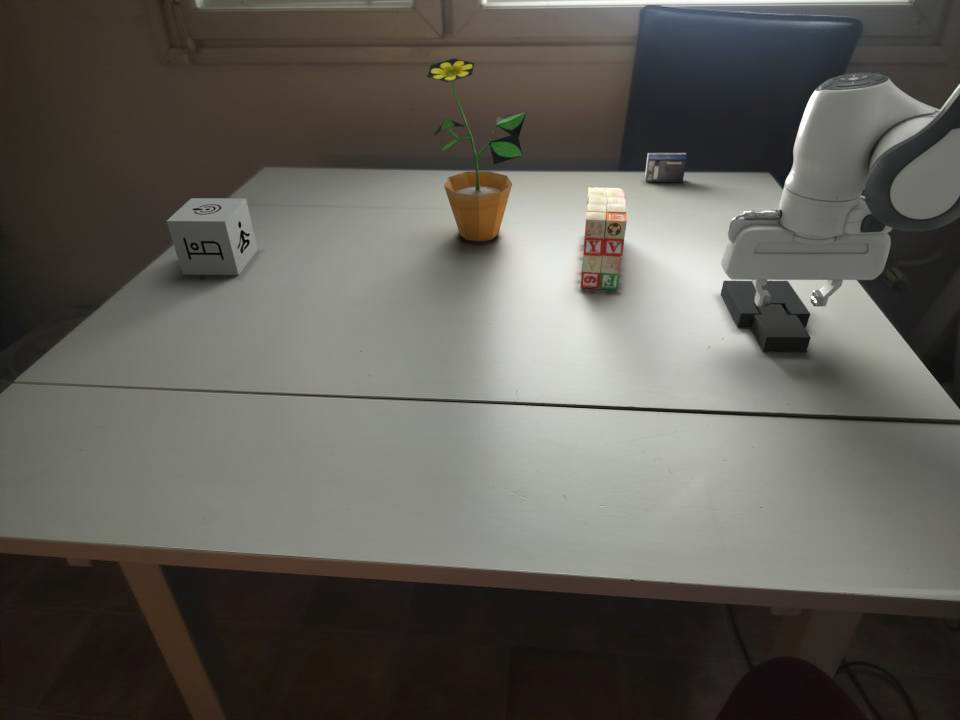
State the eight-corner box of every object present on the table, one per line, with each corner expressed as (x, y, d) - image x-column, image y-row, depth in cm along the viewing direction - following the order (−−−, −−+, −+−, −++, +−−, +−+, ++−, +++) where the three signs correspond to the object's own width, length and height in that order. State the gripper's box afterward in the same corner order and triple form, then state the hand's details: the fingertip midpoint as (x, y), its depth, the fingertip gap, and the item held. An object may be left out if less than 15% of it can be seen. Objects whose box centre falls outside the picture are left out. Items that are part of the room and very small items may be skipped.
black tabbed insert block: (785, 318, 101) (789, 304, 99) (806, 352, 93) (811, 337, 92) (745, 318, 101) (748, 304, 100) (762, 351, 94) (766, 337, 92)
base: (783, 294, 107) (787, 280, 105) (806, 328, 98) (810, 313, 97) (720, 294, 107) (723, 280, 106) (737, 327, 99) (740, 313, 98)
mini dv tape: (645, 181, 148) (648, 155, 145) (644, 179, 150) (647, 152, 146) (682, 181, 148) (687, 155, 144) (681, 179, 149) (685, 152, 146)
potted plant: (412, 233, 128) (397, 67, 111) (484, 207, 138) (482, 50, 121) (472, 264, 117) (466, 85, 100) (546, 233, 127) (553, 65, 110)
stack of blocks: (584, 233, 127) (589, 170, 120) (617, 235, 126) (624, 171, 119) (580, 288, 110) (585, 218, 102) (618, 290, 109) (627, 220, 102)
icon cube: (183, 274, 116) (166, 221, 111) (205, 249, 125) (191, 198, 119) (238, 275, 116) (224, 221, 110) (257, 249, 124) (245, 198, 118)
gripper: (739, 220, 83) (718, 315, 91) (909, 220, 82) (873, 316, 89) (726, 201, 88) (708, 292, 96) (886, 200, 87) (854, 293, 95)
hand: (789, 304), depth 93 cm, fingers open, 6 cm apart
